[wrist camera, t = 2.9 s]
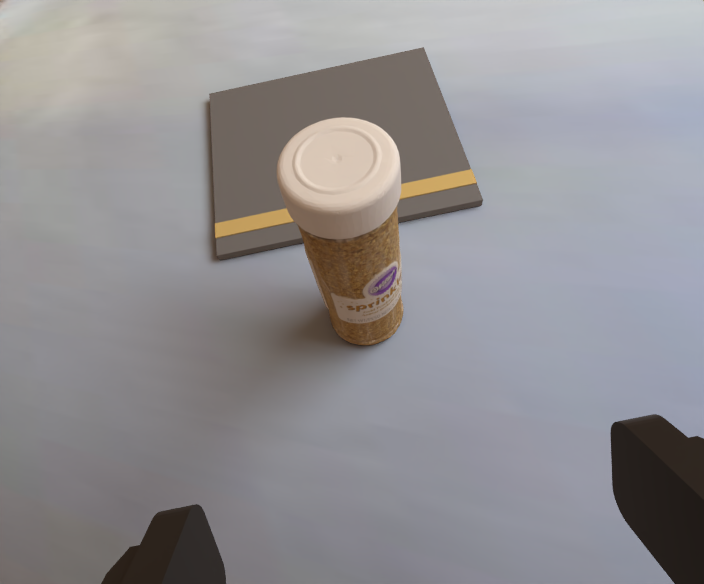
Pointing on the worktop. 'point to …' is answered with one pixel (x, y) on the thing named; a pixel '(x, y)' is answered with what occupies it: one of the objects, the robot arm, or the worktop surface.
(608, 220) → the worktop surface
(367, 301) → the sprinkles bottle
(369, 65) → the line mat
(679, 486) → the robot arm
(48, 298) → the worktop surface
